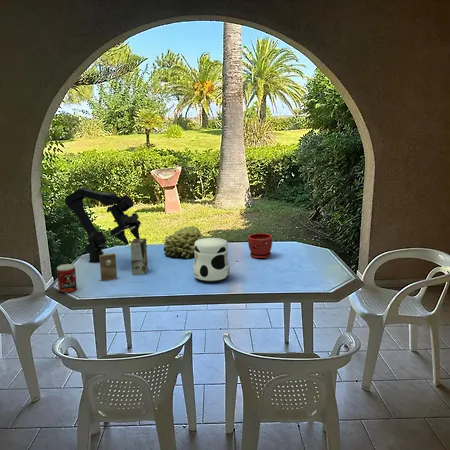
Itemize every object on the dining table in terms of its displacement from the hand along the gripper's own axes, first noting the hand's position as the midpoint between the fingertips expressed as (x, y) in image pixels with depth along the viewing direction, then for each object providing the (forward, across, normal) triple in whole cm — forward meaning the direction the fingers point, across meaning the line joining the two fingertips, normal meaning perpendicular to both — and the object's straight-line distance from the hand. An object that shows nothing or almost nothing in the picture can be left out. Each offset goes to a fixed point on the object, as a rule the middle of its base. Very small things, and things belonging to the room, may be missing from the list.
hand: (133, 242), depth 231 cm
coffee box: (+15, -6, +1) cm, 16 cm away
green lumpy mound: (+18, +32, -3) cm, 37 cm away
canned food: (+8, -40, +13) cm, 43 cm away
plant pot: (+39, +42, -38) cm, 69 cm away
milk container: (+35, 0, -31) cm, 47 cm away
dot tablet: (+11, -21, +7) cm, 25 cm away
